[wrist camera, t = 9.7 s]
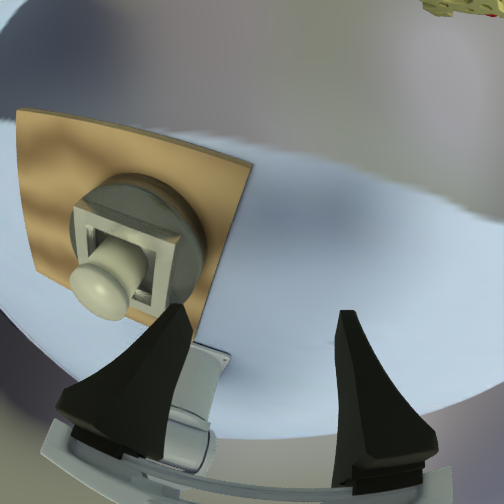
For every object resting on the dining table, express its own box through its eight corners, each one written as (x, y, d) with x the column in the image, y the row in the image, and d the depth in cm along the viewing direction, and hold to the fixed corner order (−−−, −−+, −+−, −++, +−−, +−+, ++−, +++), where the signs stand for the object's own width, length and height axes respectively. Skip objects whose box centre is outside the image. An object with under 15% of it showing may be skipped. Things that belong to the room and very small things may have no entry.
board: (194, 336, 32) (192, 343, 31) (40, 266, 30) (36, 270, 29) (252, 164, 19) (250, 168, 18) (23, 107, 17) (16, 110, 16)
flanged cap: (148, 288, 22) (125, 329, 18) (101, 268, 22) (74, 304, 18) (153, 245, 19) (125, 287, 16) (99, 224, 19) (65, 259, 15)
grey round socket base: (193, 305, 27) (180, 338, 23) (91, 262, 26) (70, 289, 23) (224, 201, 20) (207, 232, 16) (88, 157, 19) (55, 177, 15)
